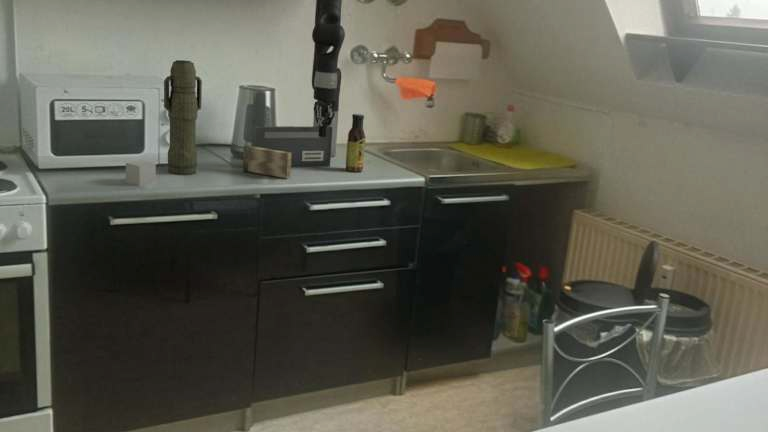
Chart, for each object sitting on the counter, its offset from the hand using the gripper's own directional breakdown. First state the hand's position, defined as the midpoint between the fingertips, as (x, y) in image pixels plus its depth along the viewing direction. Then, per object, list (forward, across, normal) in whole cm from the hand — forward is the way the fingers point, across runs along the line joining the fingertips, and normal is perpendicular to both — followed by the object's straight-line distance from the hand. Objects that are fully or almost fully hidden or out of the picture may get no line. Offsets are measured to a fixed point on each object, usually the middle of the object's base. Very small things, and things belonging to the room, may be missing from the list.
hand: (322, 136), depth 250 cm
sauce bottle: (+12, 0, +13) cm, 18 cm away
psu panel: (+12, -9, -7) cm, 16 cm away
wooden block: (+12, +2, -21) cm, 24 cm away
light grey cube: (+12, +7, -61) cm, 63 cm away
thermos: (+12, -5, -46) cm, 48 cm away
